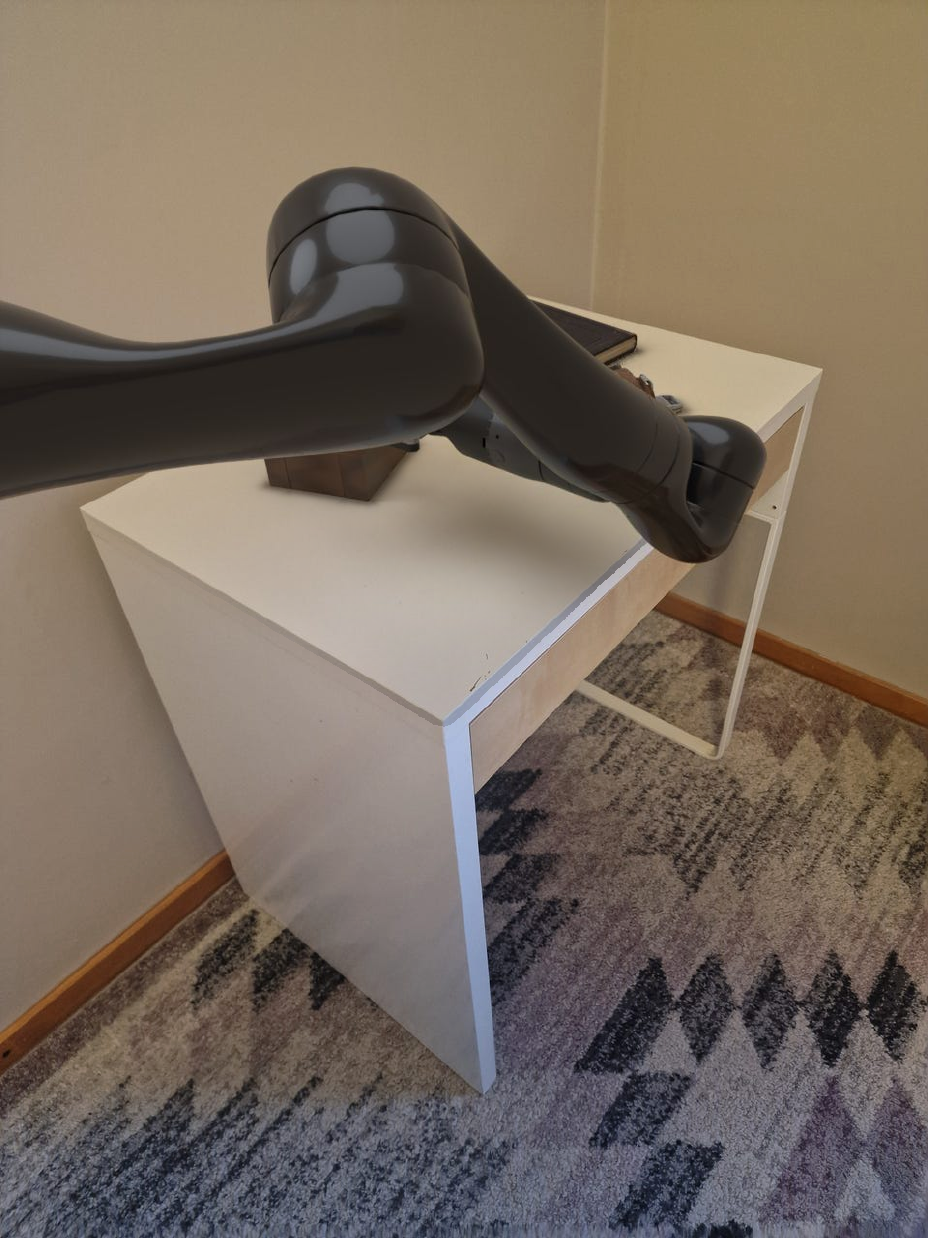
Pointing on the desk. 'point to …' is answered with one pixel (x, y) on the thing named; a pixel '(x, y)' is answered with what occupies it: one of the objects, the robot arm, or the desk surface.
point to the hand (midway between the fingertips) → (379, 378)
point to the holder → (336, 471)
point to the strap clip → (665, 397)
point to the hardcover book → (592, 334)
